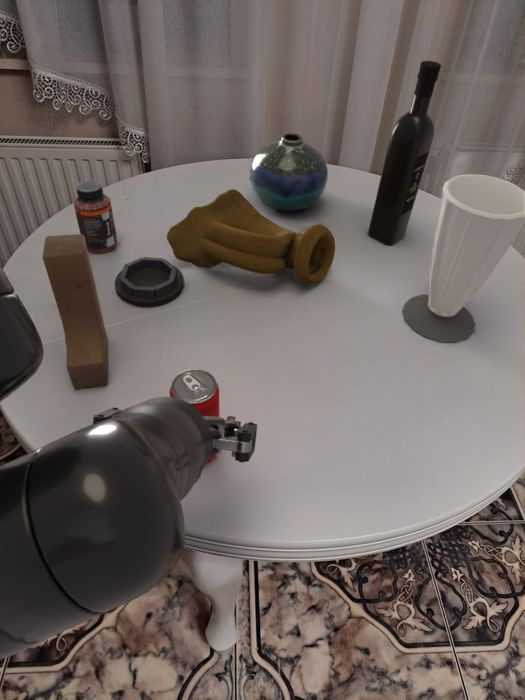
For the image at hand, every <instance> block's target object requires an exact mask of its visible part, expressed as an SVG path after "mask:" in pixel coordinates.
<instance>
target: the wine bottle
mask: <svg viewBox="0 0 525 700" xmlns="http://www.w3.org/2000/svg"><path fill="white" fill-rule="evenodd" d="M441 68H442V64H441V63H439V62H437V61H433V60H423V61H421V62H420V64H419V71H418V73H417V81H416V84H415V89H414V93H413V97H412V101H411V104H410V108H409V110H408V111H407V112H406V113H404V114H403V115H402V116H401V117H400V118H399V119H398V120H397V121H396V123H395V124H394V126H393V127H392V130H391V132H390V137H389V139H388V144H387V149H386V152H385V153H386V154H385V158H384V162H383V165H382V171H381V175H380V179H379V184H378V188H377V192H376V196H375V201H374V203H373V204H374V205H373V209H372V214H371V217H370V222H369V227H368V231H367V234H368V236H369V237H371V238H372V239H375V240H377V241H379V242H381V243H383V244H384V245H388V246H392V245H394V244H396V243H397V242H399V241H400V240H401V239H403V238H404V237H405V235H406V233H407V230H408V227H409V222H410V218H411V215H412V212H413V209H414V205H415V202H416V198H417V196H418V191H419V188H420V185H421V182H422V177H423V174H424V172H425V167H426V164H427V161H428V157H429V154H430V150H431V147H432V143H433V141H434V136H435V125H434V122H433V120H432V118H431V117H430V115H429V114H428V112H429V108H430V105H431V101H432V98H433V93H434V90H435V85H436V82H437V81H438V78H439V74H440V70H441Z"/></svg>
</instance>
